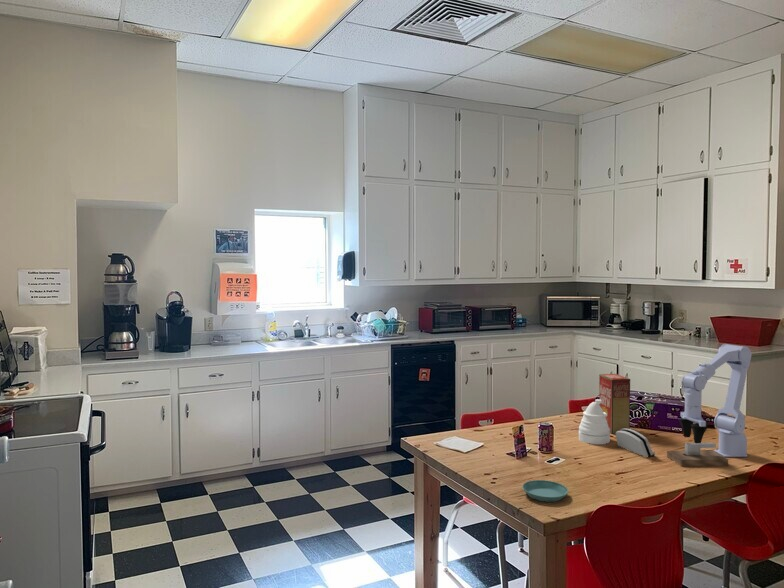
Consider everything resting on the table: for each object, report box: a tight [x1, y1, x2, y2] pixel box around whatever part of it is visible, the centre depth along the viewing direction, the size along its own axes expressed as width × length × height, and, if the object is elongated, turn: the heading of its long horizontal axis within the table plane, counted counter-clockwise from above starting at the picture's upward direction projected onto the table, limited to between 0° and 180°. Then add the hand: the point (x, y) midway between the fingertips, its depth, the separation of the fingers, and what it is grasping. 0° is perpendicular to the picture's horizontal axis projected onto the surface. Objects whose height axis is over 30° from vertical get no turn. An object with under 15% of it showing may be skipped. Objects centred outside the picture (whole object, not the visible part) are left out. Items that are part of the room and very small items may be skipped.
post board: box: [666, 449, 729, 467], centre depth 228 cm, size 18×11×2 cm, turn 92°
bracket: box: [684, 442, 717, 456], centre depth 228 cm, size 11×2×7 cm, turn 92°
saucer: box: [521, 479, 569, 503], centre depth 195 cm, size 15×15×3 cm
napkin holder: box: [614, 428, 656, 458], centre depth 240 cm, size 17×5×10 cm, turn 19°
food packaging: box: [598, 373, 631, 435], centre depth 271 cm, size 13×9×25 cm
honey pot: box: [578, 398, 611, 445], centre depth 255 cm, size 13×13×18 cm
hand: (692, 439), depth 227 cm, fingers open, 7 cm apart
